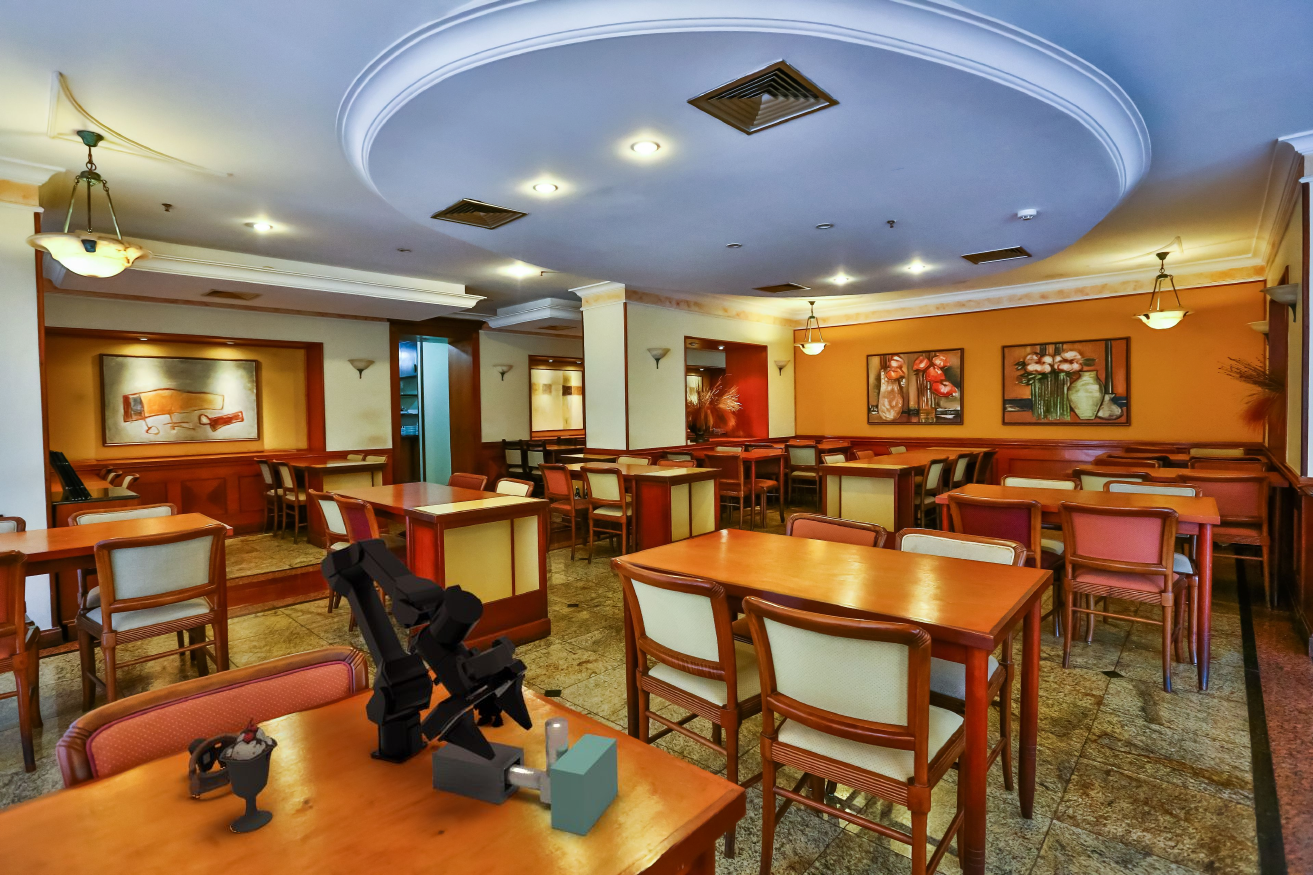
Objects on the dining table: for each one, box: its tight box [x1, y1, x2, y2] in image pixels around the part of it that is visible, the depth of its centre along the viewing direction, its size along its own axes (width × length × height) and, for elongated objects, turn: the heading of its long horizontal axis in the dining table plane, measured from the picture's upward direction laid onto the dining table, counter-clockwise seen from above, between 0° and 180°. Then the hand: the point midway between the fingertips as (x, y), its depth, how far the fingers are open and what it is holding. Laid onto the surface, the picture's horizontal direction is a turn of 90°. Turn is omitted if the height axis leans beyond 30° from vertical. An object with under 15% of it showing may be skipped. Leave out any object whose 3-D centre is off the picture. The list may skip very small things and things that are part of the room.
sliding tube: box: [504, 716, 570, 805], centre depth 92 cm, size 19×4×11 cm, turn 68°
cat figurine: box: [472, 695, 504, 728], centre depth 116 cm, size 7×7×12 cm
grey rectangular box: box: [431, 740, 525, 806], centre depth 95 cm, size 12×6×5 cm, turn 68°
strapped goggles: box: [187, 732, 239, 797], centre depth 98 cm, size 12×10×8 cm
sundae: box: [219, 716, 278, 834], centre depth 88 cm, size 7×7×15 cm
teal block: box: [550, 733, 619, 837], centre depth 89 cm, size 5×10×8 cm, turn 158°
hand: (512, 742), depth 93 cm, fingers open, 9 cm apart
